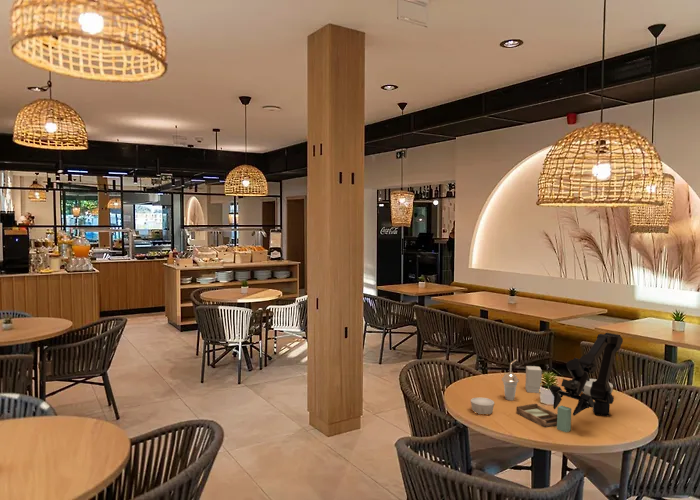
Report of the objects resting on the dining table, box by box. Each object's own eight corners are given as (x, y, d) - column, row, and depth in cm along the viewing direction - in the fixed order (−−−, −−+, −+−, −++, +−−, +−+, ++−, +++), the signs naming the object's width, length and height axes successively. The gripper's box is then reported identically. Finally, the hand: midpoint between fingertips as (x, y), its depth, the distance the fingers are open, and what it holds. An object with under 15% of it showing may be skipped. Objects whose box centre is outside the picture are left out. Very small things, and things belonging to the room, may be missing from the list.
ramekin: (474, 406, 258) (474, 395, 257) (496, 410, 252) (497, 399, 252) (467, 413, 248) (467, 402, 248) (490, 417, 242) (490, 406, 242)
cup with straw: (497, 396, 271) (499, 359, 270) (513, 395, 274) (514, 358, 272) (507, 402, 263) (508, 363, 262) (522, 401, 265) (523, 362, 264)
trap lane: (565, 423, 236) (565, 416, 236) (544, 427, 232) (545, 420, 231) (535, 409, 253) (536, 403, 253) (516, 413, 249) (516, 406, 248)
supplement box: (541, 393, 278) (542, 370, 277) (526, 392, 279) (527, 369, 278) (539, 389, 285) (540, 366, 284) (525, 388, 286) (525, 365, 286)
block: (561, 427, 232) (561, 405, 232) (570, 430, 229) (571, 408, 228) (556, 429, 230) (557, 407, 229) (566, 432, 226) (567, 410, 226)
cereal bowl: (619, 397, 273) (619, 384, 272) (601, 403, 263) (602, 390, 263) (588, 388, 287) (589, 376, 286) (570, 394, 277) (571, 381, 277)
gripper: (552, 367, 238) (537, 395, 232) (592, 377, 223) (577, 408, 217) (561, 381, 243) (546, 409, 237) (600, 392, 228) (586, 422, 222)
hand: (563, 411), depth 228 cm, fingers open, 9 cm apart
